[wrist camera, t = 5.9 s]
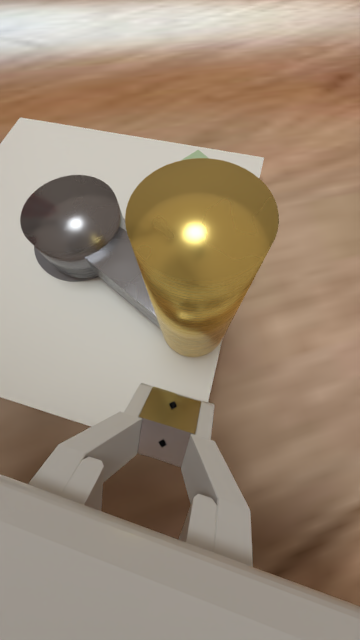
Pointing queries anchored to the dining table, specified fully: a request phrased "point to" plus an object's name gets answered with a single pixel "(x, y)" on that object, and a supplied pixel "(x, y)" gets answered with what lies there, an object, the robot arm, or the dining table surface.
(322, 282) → the dining table surface
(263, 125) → the dining table surface
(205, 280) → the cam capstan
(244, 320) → the dining table surface
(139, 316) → the pointer dial board
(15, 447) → the dining table surface
